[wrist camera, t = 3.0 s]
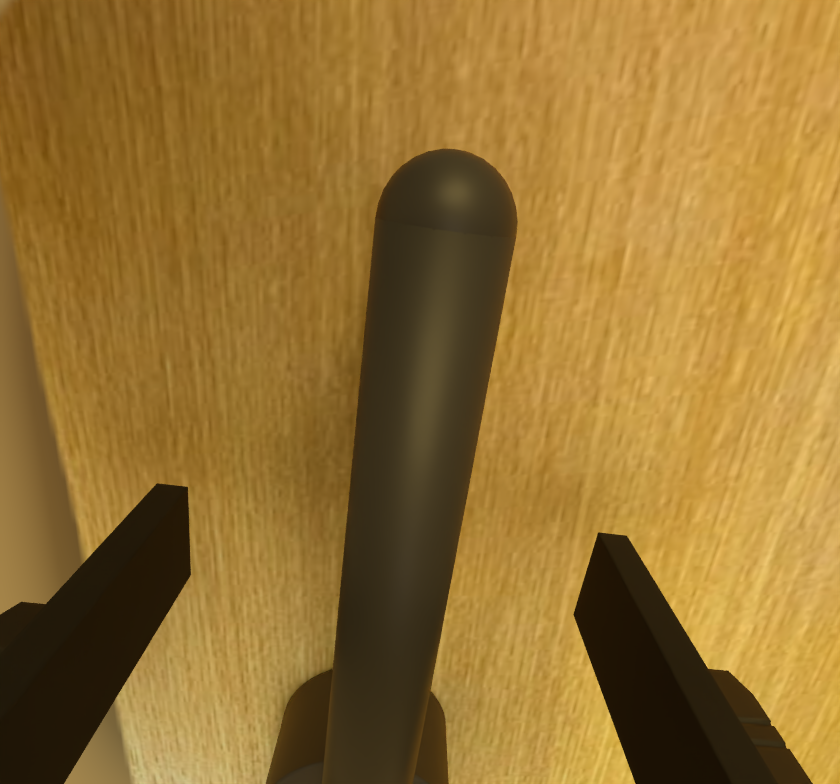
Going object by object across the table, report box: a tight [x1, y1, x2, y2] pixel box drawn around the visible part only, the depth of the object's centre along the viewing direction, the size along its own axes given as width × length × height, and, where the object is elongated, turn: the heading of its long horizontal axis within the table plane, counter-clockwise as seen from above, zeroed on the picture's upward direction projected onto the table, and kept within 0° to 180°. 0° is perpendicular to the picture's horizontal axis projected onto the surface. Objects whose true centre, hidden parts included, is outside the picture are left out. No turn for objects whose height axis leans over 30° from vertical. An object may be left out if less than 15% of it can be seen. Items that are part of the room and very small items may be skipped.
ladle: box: [266, 149, 517, 784], centre depth 13 cm, size 24×6×8 cm, turn 173°
